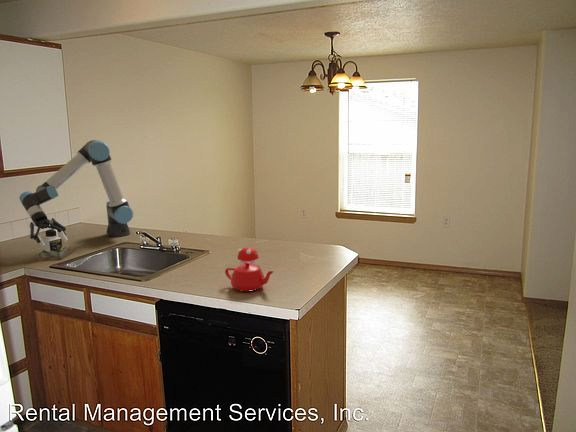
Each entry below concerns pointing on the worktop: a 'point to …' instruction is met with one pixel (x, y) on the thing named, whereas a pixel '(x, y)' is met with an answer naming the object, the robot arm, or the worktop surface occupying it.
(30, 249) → the worktop surface
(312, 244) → the worktop surface
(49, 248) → the medicine bottle
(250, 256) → the mushroom
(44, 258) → the collar board
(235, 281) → the teapot
